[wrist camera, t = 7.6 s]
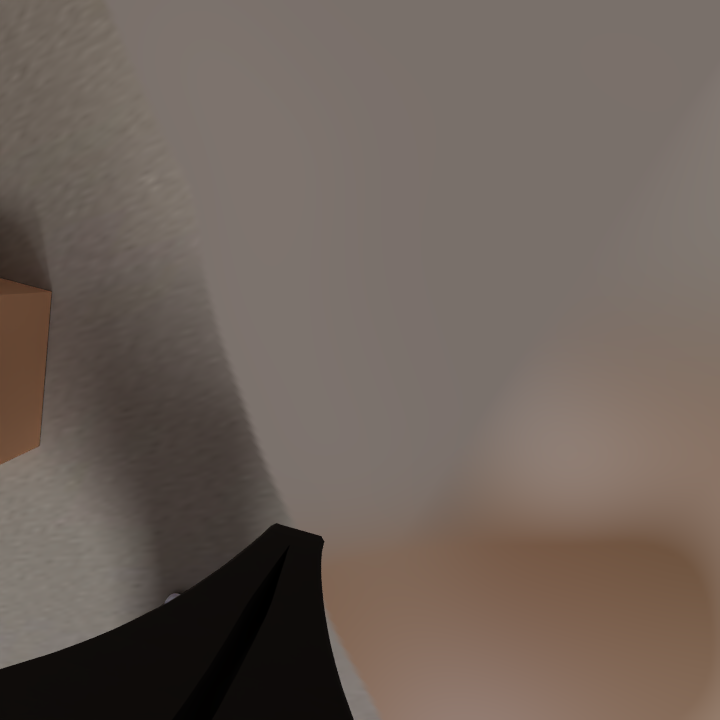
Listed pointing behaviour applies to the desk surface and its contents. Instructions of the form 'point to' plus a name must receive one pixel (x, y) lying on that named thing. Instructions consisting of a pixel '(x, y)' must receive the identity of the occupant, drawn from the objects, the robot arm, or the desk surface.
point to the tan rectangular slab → (22, 365)
